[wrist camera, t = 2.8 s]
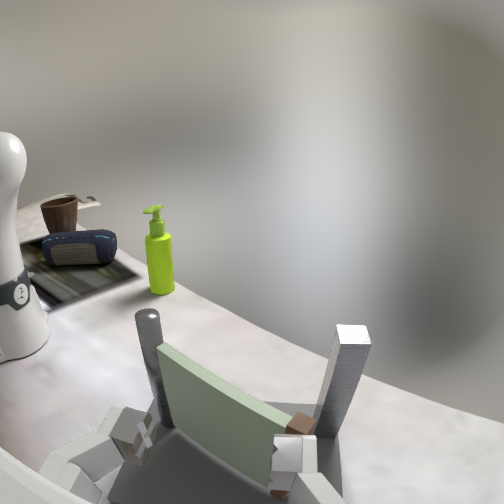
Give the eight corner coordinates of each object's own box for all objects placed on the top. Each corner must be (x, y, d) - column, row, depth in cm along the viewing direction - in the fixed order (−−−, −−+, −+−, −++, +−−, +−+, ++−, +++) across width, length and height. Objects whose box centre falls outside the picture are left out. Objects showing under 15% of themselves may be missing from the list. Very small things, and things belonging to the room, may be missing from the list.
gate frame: (110, 501, 20) (33, 407, 14) (161, 390, 39) (140, 283, 32) (340, 536, 18) (420, 467, 12) (333, 409, 37) (365, 302, 30)
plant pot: (78, 248, 90) (72, 203, 84) (42, 252, 85) (34, 208, 79) (85, 235, 103) (81, 195, 97) (52, 239, 98) (47, 199, 92)
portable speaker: (41, 271, 72) (34, 239, 69) (52, 258, 81) (47, 229, 78) (114, 268, 78) (110, 234, 74) (121, 255, 87) (117, 224, 83)
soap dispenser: (143, 294, 65) (134, 209, 58) (158, 281, 72) (151, 202, 64) (165, 298, 64) (158, 210, 57) (178, 285, 70) (174, 203, 63)
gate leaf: (173, 428, 31) (153, 342, 26) (182, 422, 32) (166, 335, 27) (282, 500, 22) (306, 434, 17) (290, 490, 23) (317, 419, 18)
